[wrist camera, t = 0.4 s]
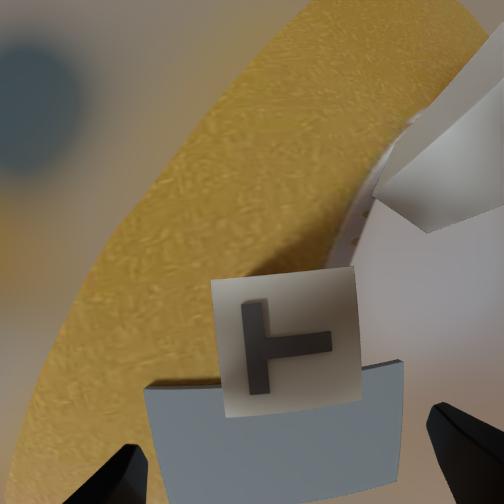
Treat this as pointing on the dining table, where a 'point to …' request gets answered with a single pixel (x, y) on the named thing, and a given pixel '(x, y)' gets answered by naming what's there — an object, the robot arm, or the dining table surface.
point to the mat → (276, 444)
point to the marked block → (288, 341)
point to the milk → (453, 148)
